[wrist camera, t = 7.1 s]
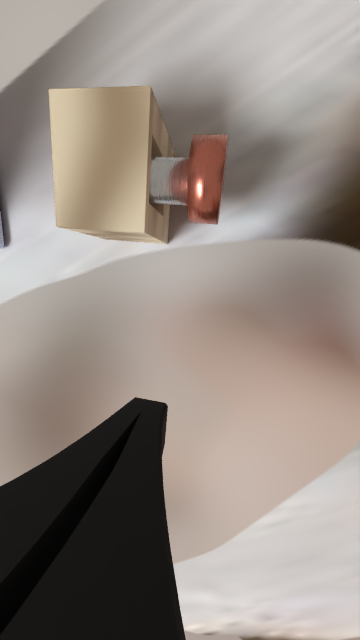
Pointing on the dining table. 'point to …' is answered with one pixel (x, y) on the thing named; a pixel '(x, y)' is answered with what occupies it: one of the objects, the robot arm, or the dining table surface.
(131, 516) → the robot arm
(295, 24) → the dining table surface
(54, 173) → the bearing block
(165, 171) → the shaft
